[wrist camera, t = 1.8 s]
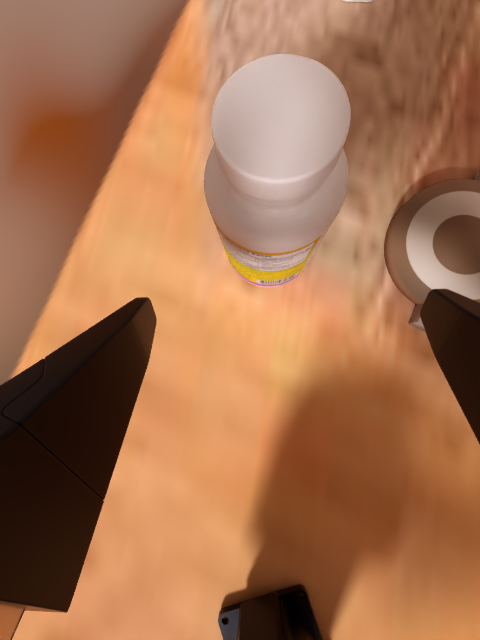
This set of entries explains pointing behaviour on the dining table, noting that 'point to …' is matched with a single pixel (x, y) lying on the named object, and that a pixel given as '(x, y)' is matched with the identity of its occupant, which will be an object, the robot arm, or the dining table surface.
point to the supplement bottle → (277, 164)
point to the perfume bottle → (359, 0)
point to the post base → (436, 242)
